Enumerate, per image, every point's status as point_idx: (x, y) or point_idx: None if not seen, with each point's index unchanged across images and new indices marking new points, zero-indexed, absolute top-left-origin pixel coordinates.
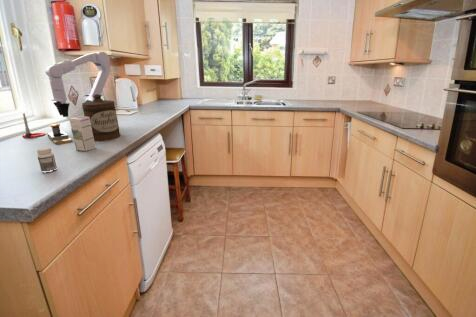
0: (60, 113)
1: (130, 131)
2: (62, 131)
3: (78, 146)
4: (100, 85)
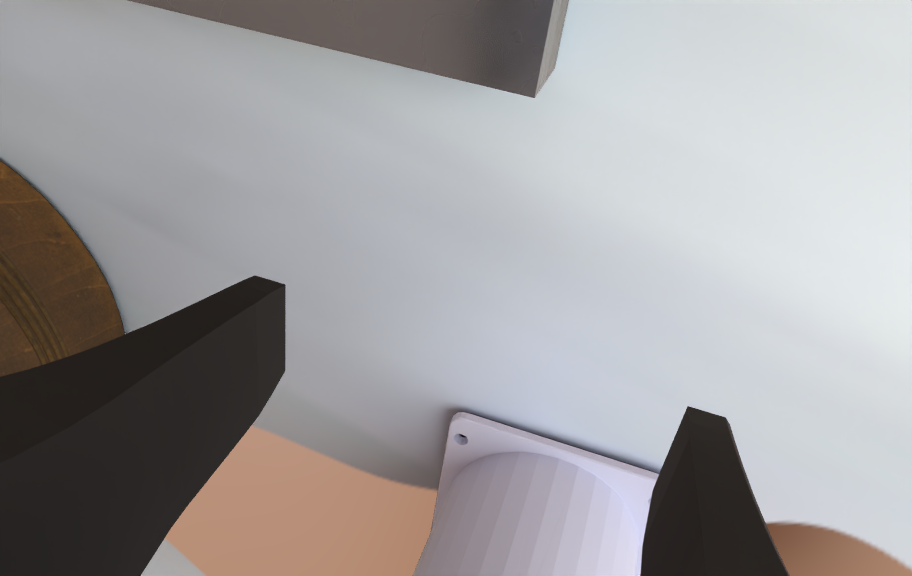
0: (677, 455)
1: None
2: (449, 60)
3: None
4: None
